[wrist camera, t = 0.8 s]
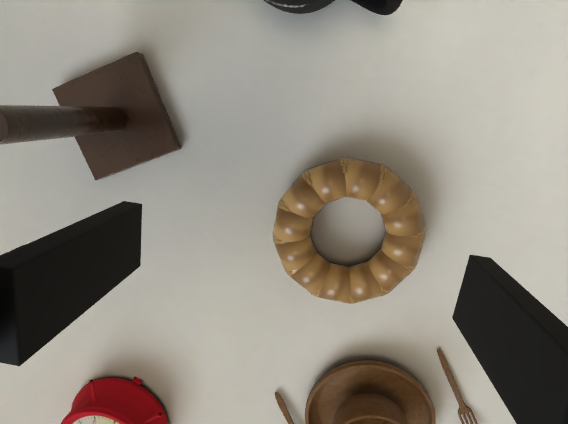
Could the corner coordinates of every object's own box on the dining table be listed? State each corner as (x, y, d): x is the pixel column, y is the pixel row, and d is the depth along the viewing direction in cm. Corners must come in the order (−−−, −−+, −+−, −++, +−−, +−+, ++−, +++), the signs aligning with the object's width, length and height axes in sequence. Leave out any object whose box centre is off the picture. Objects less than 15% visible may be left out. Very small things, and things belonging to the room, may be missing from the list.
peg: (59, 89, 32) (-111, 76, 19) (142, 53, 30) (15, 14, 18) (101, 178, 34) (-31, 219, 21) (181, 148, 32) (90, 173, 20)
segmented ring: (256, 184, 32) (250, 192, 29) (396, 136, 30) (404, 139, 27) (303, 306, 35) (301, 324, 32) (435, 270, 33) (445, 285, 30)
